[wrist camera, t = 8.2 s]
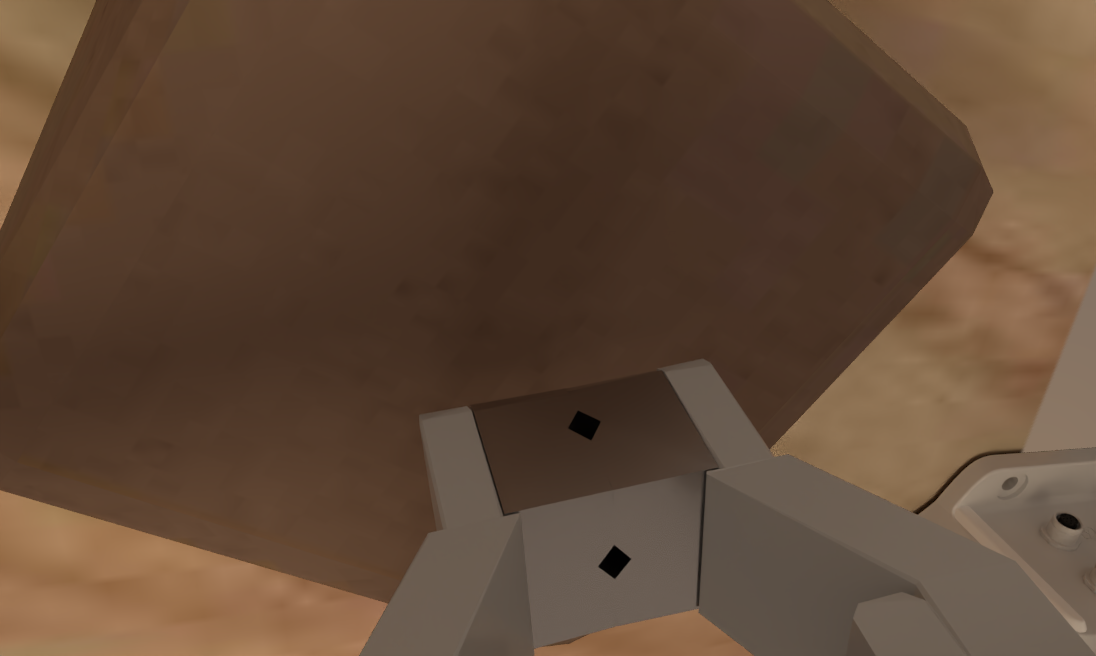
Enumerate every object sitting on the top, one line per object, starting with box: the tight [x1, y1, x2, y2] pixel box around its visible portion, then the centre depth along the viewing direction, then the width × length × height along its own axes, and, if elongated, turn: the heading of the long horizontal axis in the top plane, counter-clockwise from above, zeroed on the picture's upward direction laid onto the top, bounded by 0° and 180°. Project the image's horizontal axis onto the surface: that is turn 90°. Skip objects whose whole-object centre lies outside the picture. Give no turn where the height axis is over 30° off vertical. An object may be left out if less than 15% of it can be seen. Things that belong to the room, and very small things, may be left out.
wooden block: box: [0, 0, 993, 647], centre depth 19 cm, size 10×10×20 cm
